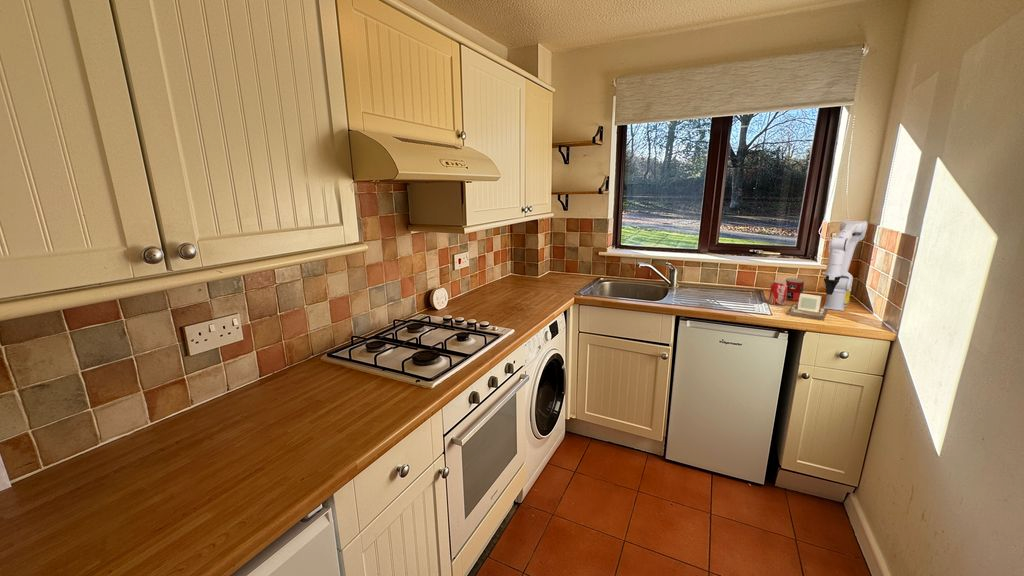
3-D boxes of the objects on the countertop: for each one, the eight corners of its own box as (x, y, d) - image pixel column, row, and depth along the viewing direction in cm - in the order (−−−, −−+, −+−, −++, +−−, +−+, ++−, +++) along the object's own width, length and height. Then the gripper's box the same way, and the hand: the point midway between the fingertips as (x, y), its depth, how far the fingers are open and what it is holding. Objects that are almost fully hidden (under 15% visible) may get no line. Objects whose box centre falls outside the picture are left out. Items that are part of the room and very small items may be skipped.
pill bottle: (848, 307, 206) (852, 284, 203) (832, 304, 210) (836, 282, 207) (848, 304, 211) (852, 281, 208) (832, 302, 215) (836, 280, 212)
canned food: (779, 298, 223) (782, 278, 221) (795, 298, 223) (798, 278, 220) (788, 301, 216) (791, 281, 213) (804, 301, 215) (807, 281, 213)
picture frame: (798, 308, 200) (801, 292, 198) (818, 312, 195) (821, 295, 193) (796, 311, 196) (799, 295, 195) (817, 314, 191) (820, 297, 189)
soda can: (771, 306, 209) (774, 283, 206) (766, 302, 215) (769, 279, 212) (787, 306, 207) (790, 283, 204) (781, 303, 214) (785, 280, 211)
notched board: (793, 305, 209) (793, 300, 209) (827, 310, 200) (828, 305, 200) (786, 314, 194) (787, 309, 194) (823, 320, 186) (824, 315, 185)
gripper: (825, 261, 197) (820, 288, 200) (822, 264, 186) (817, 294, 190) (844, 262, 193) (838, 291, 196) (842, 266, 182) (836, 296, 185)
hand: (829, 292), depth 192 cm, fingers open, 7 cm apart
